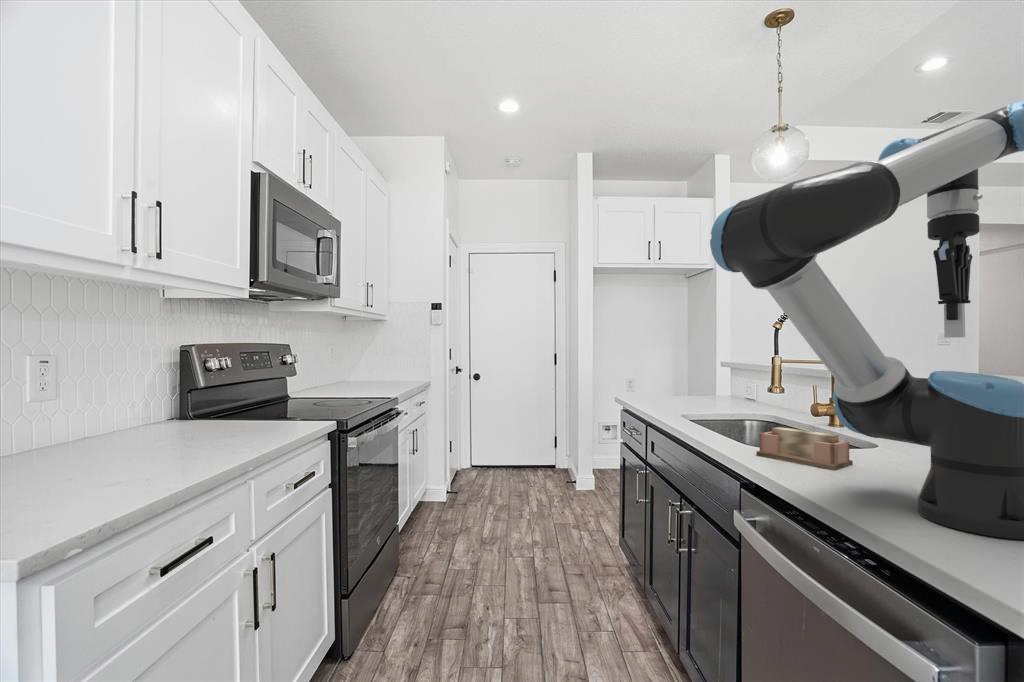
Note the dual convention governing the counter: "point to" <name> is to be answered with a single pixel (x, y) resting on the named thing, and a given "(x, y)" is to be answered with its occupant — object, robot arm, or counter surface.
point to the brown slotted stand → (822, 450)
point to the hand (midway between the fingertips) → (954, 337)
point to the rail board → (803, 460)
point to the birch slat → (801, 441)
